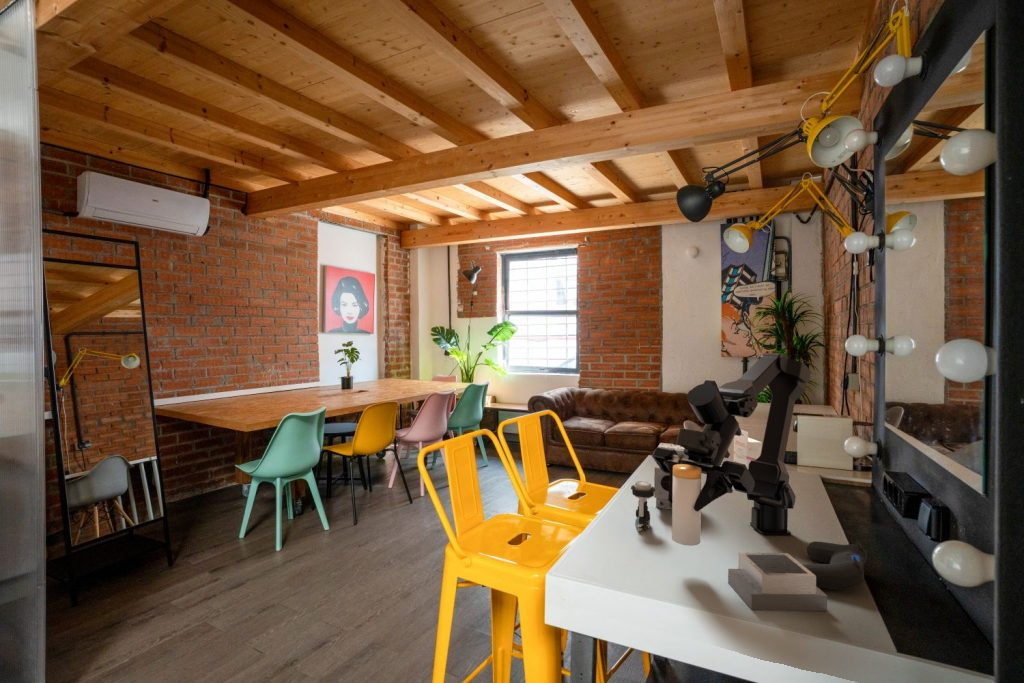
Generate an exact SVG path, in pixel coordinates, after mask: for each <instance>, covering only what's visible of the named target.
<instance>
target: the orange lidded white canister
mask: <svg viewBox="0 0 1024 683" xmlns="http://www.w3.org/2000/svg"><path fill="white" fill-rule="evenodd" d="M701 490H702V473H701V468H700V467H698V466H694V465H688V464H677V465H674V466H673V496H672V509H671V512H672V513H671V514H672V515H671V540H672V541H673V542H675V543H676V544H680V545H681V546H689V547H691V546H692V547H693V546H698V545H700V544H701V526H702V525H701V519H702V516H701V514H702V509H701V510H699V511H698V512H697V511H695V510H694V505H695V503H696V500H697V498H698V496H699V494H700V492H701Z"/></svg>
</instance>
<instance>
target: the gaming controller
mask: <svg viewBox="0 0 1024 683" xmlns="http://www.w3.org/2000/svg"><path fill="white" fill-rule="evenodd" d="M856 543H857V544H854V543H850V544H840V543H833V542H825V541H811V542H810V543H808V544H807V547H806V553H807V555H808V556H809V559H812V560H813V561H814V562H815V561H816V562H818V561H819V562H818V563H804V564H802V565H803V566H804V567H805V568H807V569H808V570H809V571H810V572H812V573H813V574H814V575H815V576H816V587H818V588H819V589H841V588H844V587H850V586H854V585H858V584H860V583H862V582H863V581H864V579H865V573H864V572H865V570H864V568H865V564H866V563H867V562H868V552H867V550H866V549H864V546H863V545H862V543H861V542H860V541H859V539H856ZM822 562H824V563H822ZM829 563H830V564H829Z"/></svg>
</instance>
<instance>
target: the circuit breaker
mask: <svg viewBox="0 0 1024 683" xmlns="http://www.w3.org/2000/svg"><path fill="white" fill-rule="evenodd" d="M657 447H664V448H669V449H674V450H675V451H676V452H677V454H678V455H679V456H680V457H681V458H684V459H688V455H685V453H684V452H683V451H684V449H685V448H683V447H681V446H680V445H679V446H678V445H676V444H674V443H667V442H665V443H664V442H660V443H659V445H658V446H657ZM653 480H654V483H653V487H654V488H655V491H654V496H653V498H654V499H655V508H658V507H662V508H661V509H665V508H668V509H667V510H672V504H671V503H669V501H668V495H669V484H670V474H668V473H665V472H663V471H662V470H661V469H660V467H659V466H658V464H657V463H656V464H655V466H654V478H653Z"/></svg>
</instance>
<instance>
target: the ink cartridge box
mask: <svg viewBox="0 0 1024 683" xmlns="http://www.w3.org/2000/svg"><path fill="white" fill-rule="evenodd" d="M762 445H763V441H759V440H757V439H754V438H751V437H749V432H748V431H746V430H743V429H741V436H737V435H735V436H734V438H733V462H736V463H741V464H745V465H746V467H747V469H748V468H749V463H750V461H751V460H753V461H755V460H756V459H757V458H758V457H759V456H760V454H761V450H762Z"/></svg>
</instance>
